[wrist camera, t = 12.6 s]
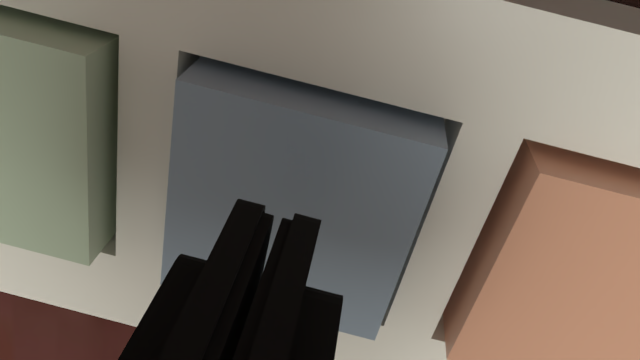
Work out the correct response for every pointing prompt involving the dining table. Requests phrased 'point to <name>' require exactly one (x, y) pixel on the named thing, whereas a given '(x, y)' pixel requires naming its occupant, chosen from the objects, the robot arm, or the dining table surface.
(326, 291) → the robot arm
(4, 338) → the dining table surface
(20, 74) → the button sage
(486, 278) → the button terracotta
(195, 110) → the button slate
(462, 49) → the button panel
